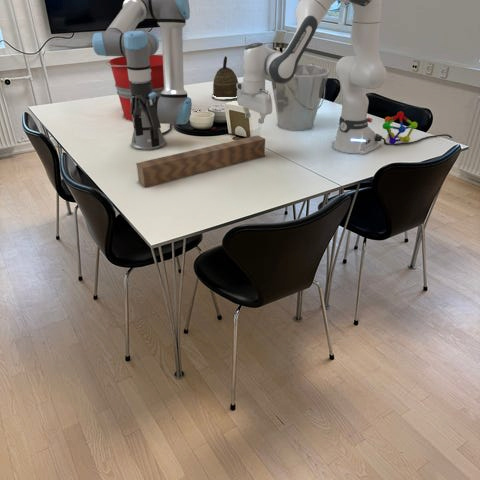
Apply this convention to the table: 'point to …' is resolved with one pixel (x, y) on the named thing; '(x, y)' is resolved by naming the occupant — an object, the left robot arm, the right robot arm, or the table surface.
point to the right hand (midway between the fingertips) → (254, 120)
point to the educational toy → (398, 128)
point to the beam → (199, 160)
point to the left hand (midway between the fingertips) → (147, 140)
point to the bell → (225, 82)
